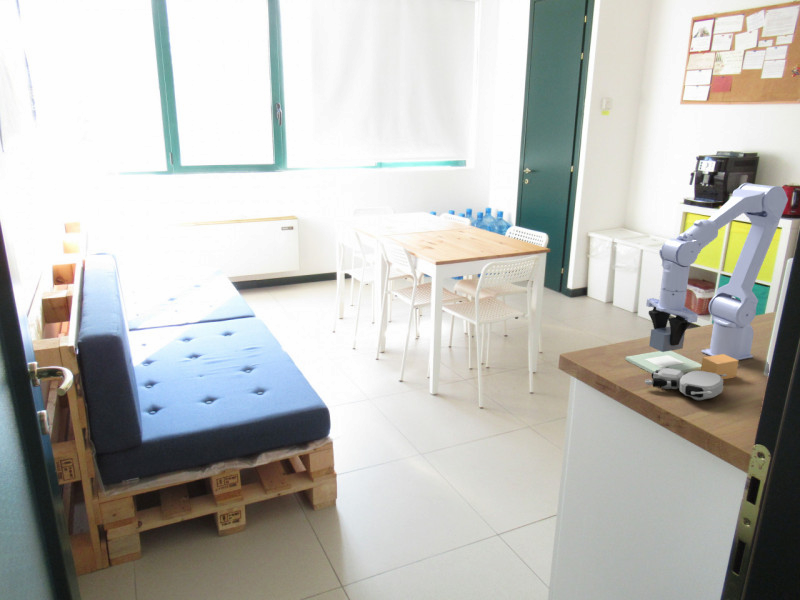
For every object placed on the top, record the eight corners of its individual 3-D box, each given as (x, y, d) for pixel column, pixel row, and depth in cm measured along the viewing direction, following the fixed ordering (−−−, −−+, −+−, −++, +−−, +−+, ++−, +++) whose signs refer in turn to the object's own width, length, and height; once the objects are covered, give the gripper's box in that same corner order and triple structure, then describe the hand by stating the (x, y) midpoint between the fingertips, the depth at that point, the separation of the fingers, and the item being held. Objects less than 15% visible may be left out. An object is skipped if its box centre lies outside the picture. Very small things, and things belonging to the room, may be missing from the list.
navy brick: (669, 342, 152) (671, 326, 150) (682, 348, 148) (684, 331, 146) (649, 346, 149) (651, 329, 148) (662, 352, 145) (664, 335, 144)
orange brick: (720, 370, 146) (723, 353, 145) (735, 377, 142) (738, 360, 141) (700, 374, 144) (702, 357, 143) (714, 381, 140) (717, 364, 139)
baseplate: (668, 352, 158) (668, 349, 157) (704, 369, 147) (705, 365, 147) (625, 359, 153) (625, 356, 153) (659, 377, 142) (660, 374, 142)
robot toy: (641, 394, 136) (713, 409, 126) (642, 376, 135) (714, 389, 125) (660, 378, 144) (728, 391, 135) (661, 360, 143) (730, 372, 133)
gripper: (639, 283, 149) (633, 334, 153) (684, 298, 136) (676, 353, 140) (661, 280, 152) (655, 330, 156) (707, 295, 139) (699, 349, 143)
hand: (666, 341), depth 148 cm, fingers closed on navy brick, 4 cm apart
